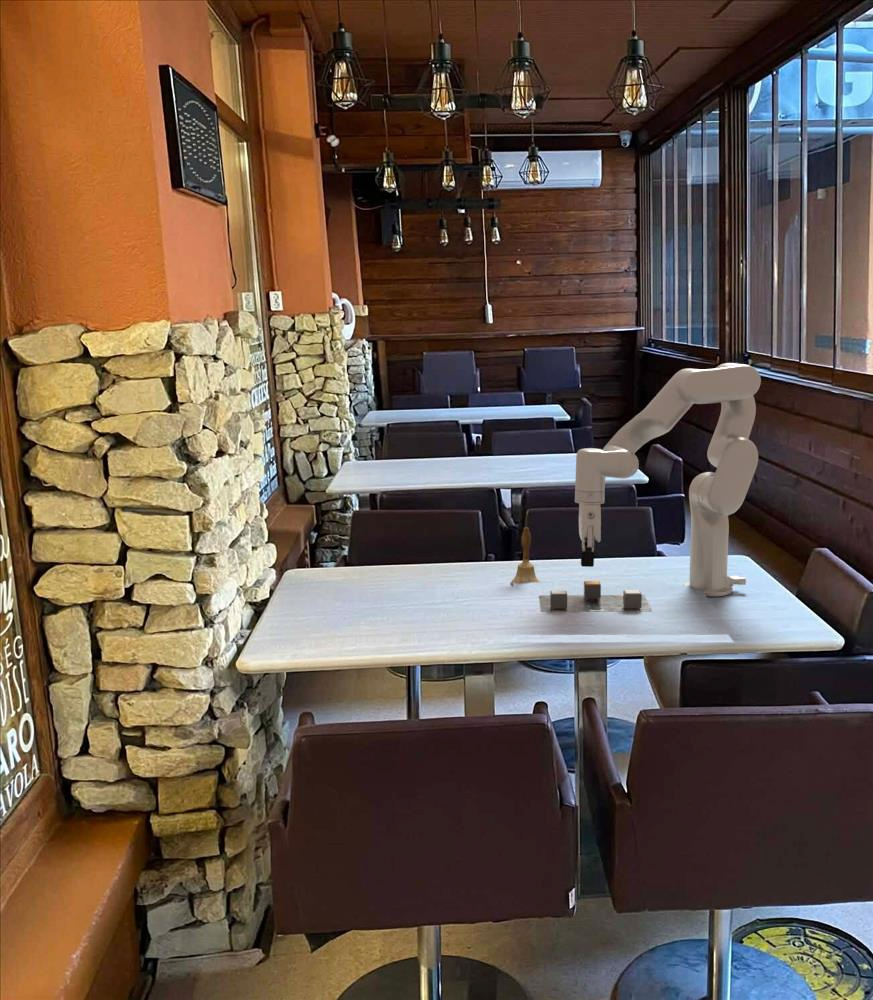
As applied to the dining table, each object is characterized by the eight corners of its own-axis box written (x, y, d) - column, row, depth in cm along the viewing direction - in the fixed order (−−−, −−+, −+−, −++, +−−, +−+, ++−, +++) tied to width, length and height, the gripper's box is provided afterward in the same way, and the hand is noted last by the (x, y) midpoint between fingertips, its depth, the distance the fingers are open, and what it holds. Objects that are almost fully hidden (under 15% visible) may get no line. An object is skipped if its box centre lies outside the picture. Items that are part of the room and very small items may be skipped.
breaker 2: (639, 604, 233) (639, 589, 233) (641, 608, 230) (641, 593, 229) (623, 604, 234) (623, 589, 233) (624, 608, 230) (625, 593, 230)
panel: (644, 600, 243) (644, 594, 242) (652, 617, 229) (652, 611, 229) (538, 601, 245) (538, 595, 244) (540, 617, 231) (540, 611, 231)
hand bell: (540, 579, 265) (540, 524, 262) (540, 587, 257) (540, 530, 254) (511, 579, 266) (510, 524, 263) (510, 587, 258) (509, 530, 255)
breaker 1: (566, 604, 235) (566, 590, 234) (567, 608, 231) (567, 593, 231) (550, 604, 235) (550, 590, 234) (550, 608, 232) (550, 593, 231)
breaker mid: (599, 594, 242) (599, 580, 242) (600, 598, 239) (600, 584, 238) (583, 594, 243) (583, 580, 242) (584, 598, 239) (584, 584, 239)
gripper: (607, 502, 235) (604, 573, 238) (601, 492, 249) (598, 559, 253) (577, 501, 235) (574, 572, 238) (572, 491, 250) (570, 558, 253)
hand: (587, 565), depth 245 cm, fingers closed
